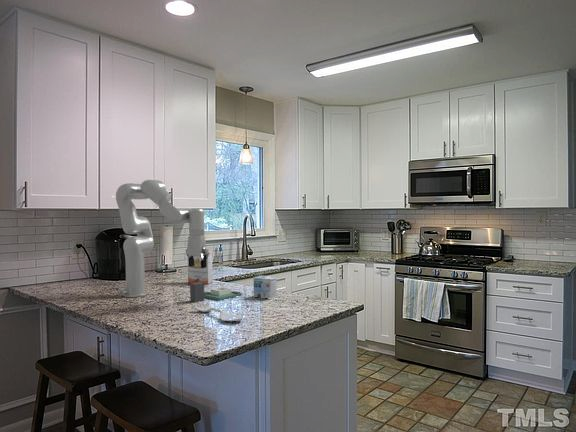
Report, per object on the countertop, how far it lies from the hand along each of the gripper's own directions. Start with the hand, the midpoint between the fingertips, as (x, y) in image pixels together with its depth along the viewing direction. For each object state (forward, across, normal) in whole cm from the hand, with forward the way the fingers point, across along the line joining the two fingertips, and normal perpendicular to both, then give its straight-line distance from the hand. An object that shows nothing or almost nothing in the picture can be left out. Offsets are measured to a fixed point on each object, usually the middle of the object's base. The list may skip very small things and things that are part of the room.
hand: (197, 267), depth 219 cm
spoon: (+18, +30, -13) cm, 38 cm away
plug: (+17, -1, 0) cm, 17 cm away
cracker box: (+17, -38, +32) cm, 52 cm away
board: (+17, 0, +15) cm, 23 cm away
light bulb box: (+18, +20, +28) cm, 39 cm away
